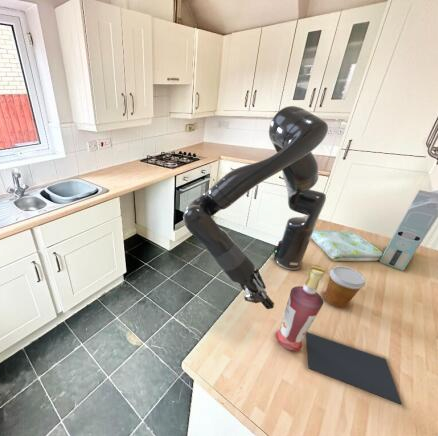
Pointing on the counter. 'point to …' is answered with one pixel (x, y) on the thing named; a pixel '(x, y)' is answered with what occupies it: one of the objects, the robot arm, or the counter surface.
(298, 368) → the counter surface
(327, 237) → the towel
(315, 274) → the liquor
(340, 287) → the disposable coffee cup
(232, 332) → the counter surface
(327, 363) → the mat
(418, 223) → the device
